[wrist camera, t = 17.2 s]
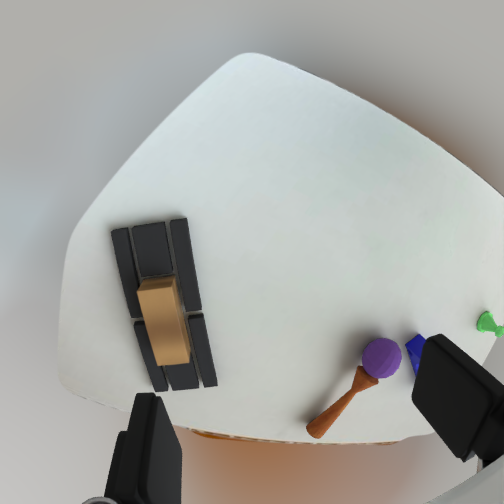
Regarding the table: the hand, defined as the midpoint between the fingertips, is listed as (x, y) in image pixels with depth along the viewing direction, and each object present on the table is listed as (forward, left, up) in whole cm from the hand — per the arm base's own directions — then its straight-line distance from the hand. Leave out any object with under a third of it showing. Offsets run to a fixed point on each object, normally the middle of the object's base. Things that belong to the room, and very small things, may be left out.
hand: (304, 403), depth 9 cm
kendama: (+26, +14, -28) cm, 41 cm away
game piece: (+23, +45, -28) cm, 58 cm away
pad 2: (+15, -10, -28) cm, 33 cm away
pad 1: (+3, -10, -28) cm, 30 cm away
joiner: (+9, -10, -28) cm, 31 cm away
